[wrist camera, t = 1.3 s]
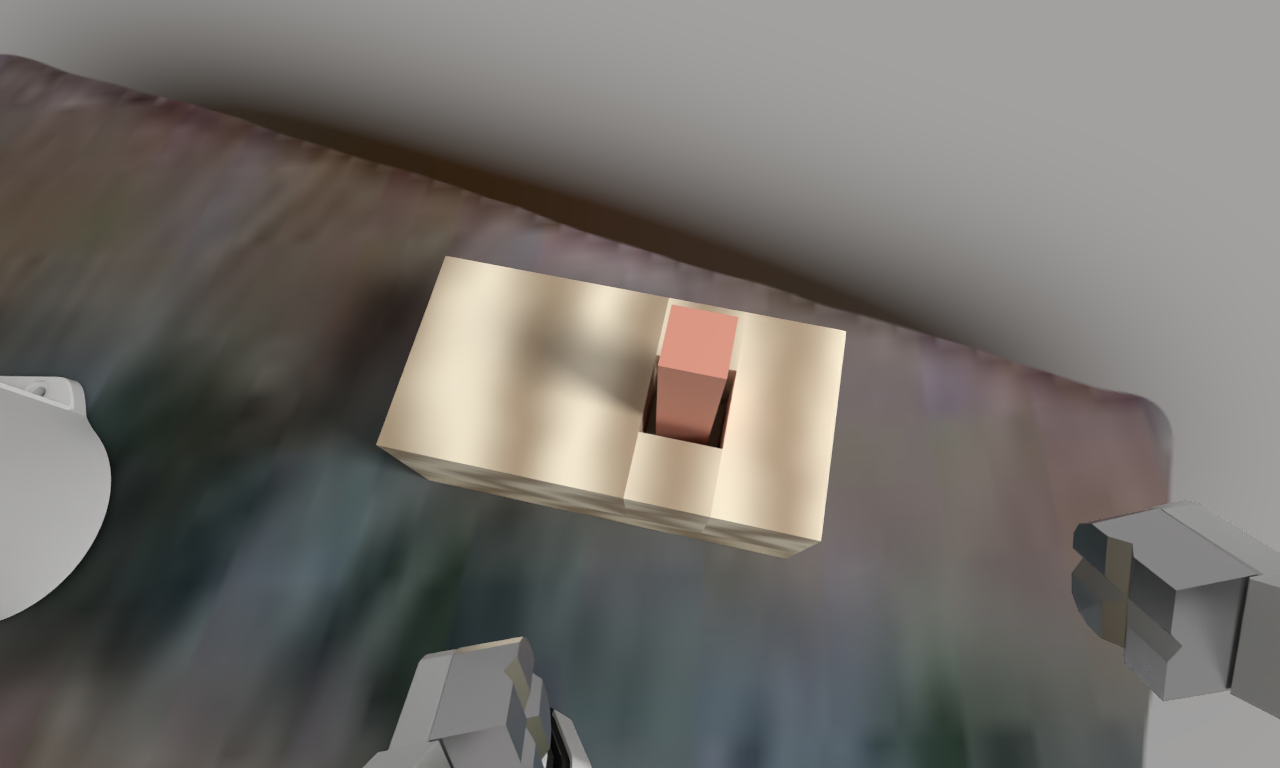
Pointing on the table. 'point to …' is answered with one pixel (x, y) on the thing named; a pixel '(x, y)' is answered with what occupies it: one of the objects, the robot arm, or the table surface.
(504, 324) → the beige wooden block
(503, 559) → the table surface
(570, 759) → the hinge
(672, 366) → the salmon pink square peg
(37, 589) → the robot arm
